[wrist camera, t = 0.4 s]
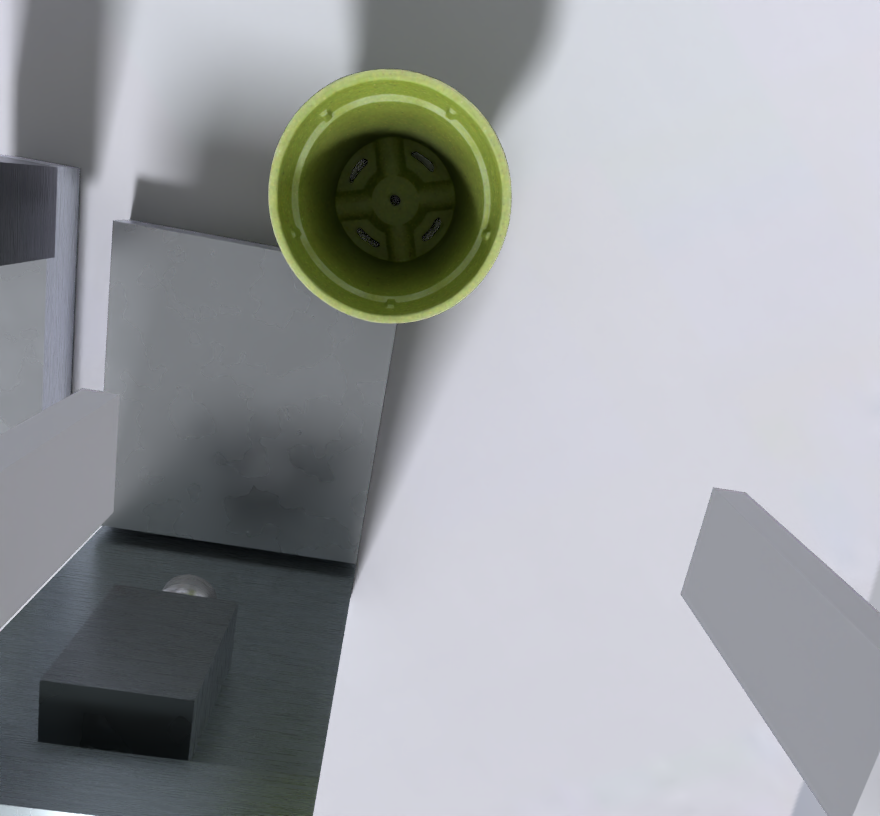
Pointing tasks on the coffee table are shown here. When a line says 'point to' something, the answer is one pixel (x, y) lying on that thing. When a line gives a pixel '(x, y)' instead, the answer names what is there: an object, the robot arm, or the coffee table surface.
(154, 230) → the frame
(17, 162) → the lever
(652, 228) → the coffee table surface
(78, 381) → the coffee table surface
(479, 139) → the plant pot
